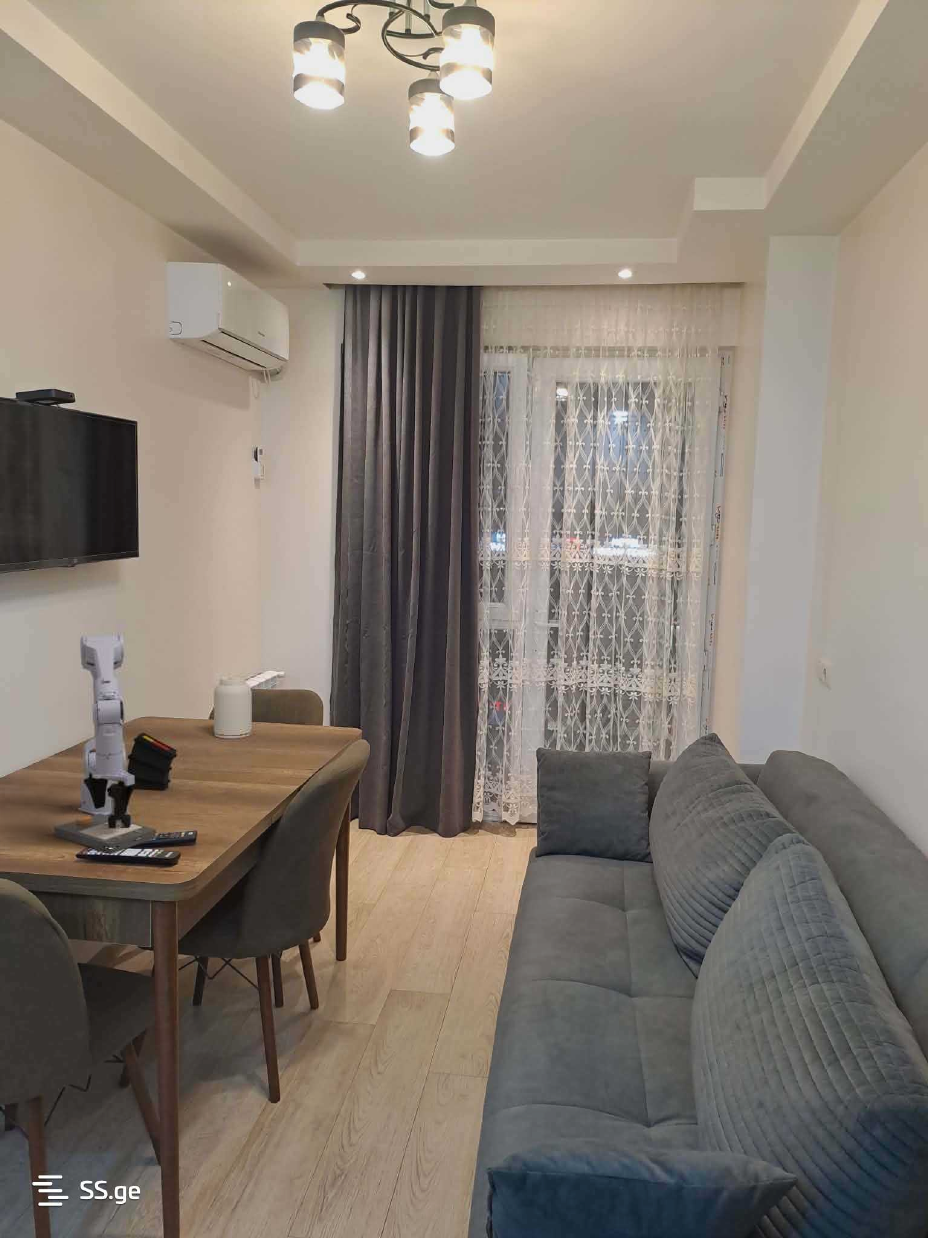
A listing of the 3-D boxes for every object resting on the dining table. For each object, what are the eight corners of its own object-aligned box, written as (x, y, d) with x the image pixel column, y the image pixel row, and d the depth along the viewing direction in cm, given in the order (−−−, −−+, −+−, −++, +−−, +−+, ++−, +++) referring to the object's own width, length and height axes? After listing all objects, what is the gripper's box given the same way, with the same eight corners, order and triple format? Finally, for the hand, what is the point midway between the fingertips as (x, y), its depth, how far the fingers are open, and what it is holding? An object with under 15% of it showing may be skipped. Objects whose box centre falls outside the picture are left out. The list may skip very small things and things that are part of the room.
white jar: (215, 731, 309) (215, 674, 307) (252, 730, 311) (252, 674, 309) (212, 739, 297) (212, 680, 295) (250, 739, 299) (250, 680, 297)
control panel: (54, 835, 203) (54, 823, 203) (100, 821, 213) (99, 810, 213) (111, 853, 193) (110, 841, 193) (155, 838, 203) (155, 826, 203)
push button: (99, 831, 200) (98, 788, 199) (104, 823, 206) (103, 781, 205) (129, 830, 202) (129, 787, 201) (134, 822, 207) (133, 780, 206)
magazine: (120, 778, 244) (142, 731, 242) (162, 801, 243) (184, 754, 241) (113, 782, 240) (136, 734, 238) (156, 805, 239) (178, 757, 237)
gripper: (73, 751, 200) (74, 809, 202) (115, 761, 193) (116, 821, 194) (100, 745, 206) (101, 801, 208) (141, 754, 199) (142, 813, 200)
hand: (110, 810), depth 202 cm, fingers open, 7 cm apart
